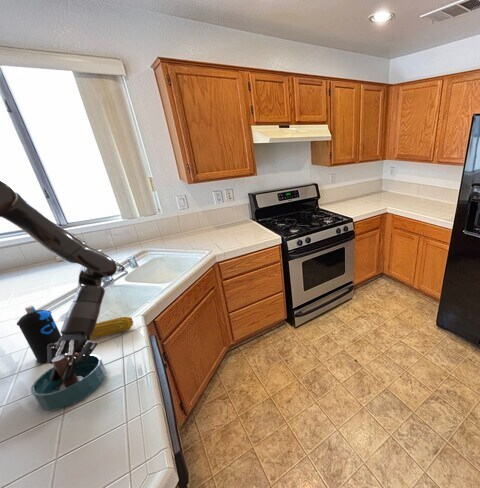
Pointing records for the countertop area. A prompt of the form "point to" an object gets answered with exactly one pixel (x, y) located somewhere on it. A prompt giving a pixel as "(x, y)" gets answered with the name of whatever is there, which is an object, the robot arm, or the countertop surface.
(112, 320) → the food
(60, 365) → the brown wooden peg
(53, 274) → the countertop surface
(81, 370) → the bowl
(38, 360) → the aerosol can
